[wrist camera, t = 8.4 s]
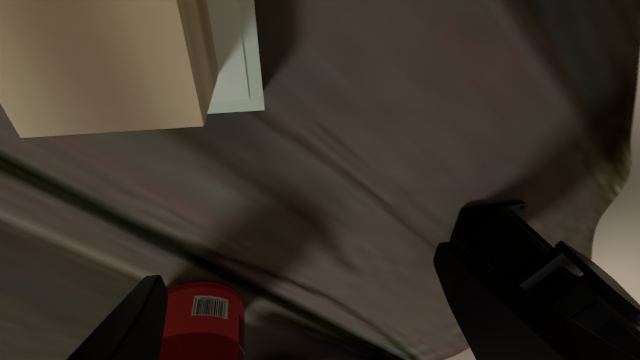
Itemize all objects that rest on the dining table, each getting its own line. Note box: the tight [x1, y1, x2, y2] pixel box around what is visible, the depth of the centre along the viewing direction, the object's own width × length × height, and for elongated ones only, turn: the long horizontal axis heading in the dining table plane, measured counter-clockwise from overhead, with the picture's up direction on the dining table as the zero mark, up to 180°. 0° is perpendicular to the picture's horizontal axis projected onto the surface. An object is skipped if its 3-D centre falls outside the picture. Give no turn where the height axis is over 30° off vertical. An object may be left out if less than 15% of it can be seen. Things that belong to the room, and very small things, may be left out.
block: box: [0, 0, 219, 138], centre depth 10 cm, size 5×5×6 cm
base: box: [206, 0, 265, 114], centre depth 14 cm, size 9×9×3 cm
